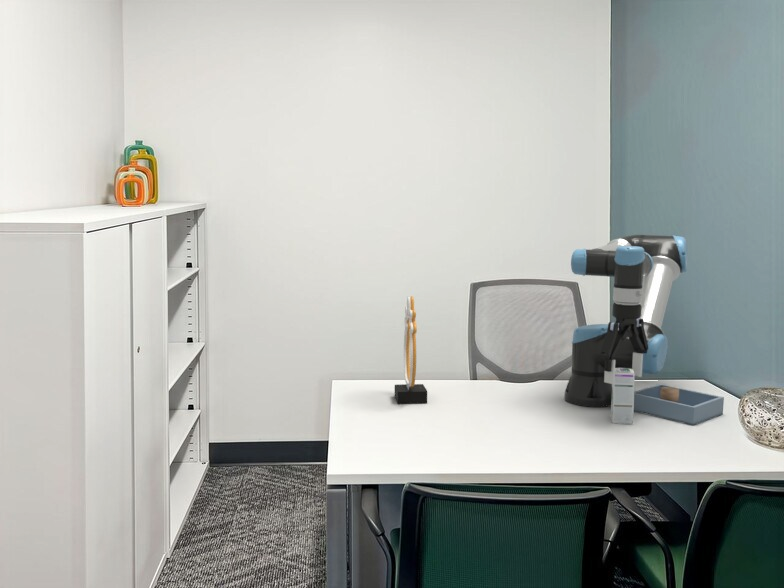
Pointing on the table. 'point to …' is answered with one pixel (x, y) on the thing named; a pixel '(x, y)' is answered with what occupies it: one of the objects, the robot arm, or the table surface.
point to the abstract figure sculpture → (410, 362)
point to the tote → (678, 405)
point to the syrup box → (623, 396)
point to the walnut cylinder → (669, 394)
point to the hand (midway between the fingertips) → (623, 379)
